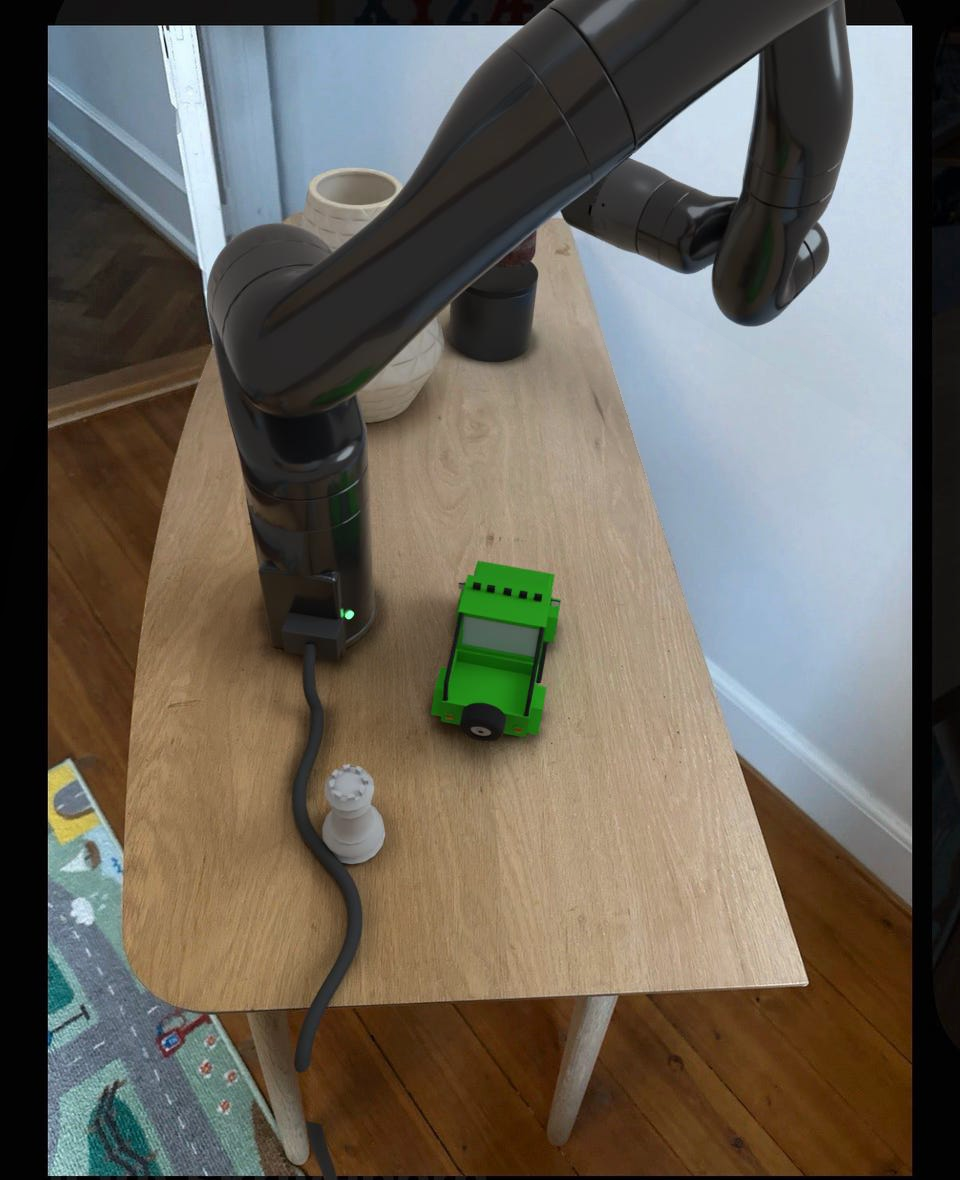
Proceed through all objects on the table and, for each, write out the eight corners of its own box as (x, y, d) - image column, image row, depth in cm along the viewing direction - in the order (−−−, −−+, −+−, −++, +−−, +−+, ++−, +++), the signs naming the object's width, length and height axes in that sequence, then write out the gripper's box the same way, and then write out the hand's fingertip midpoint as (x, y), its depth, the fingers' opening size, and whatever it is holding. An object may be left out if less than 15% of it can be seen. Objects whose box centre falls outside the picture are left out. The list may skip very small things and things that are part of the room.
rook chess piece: (386, 809, 65) (384, 751, 59) (384, 867, 62) (381, 812, 56) (325, 809, 64) (317, 751, 58) (319, 867, 61) (310, 812, 55)
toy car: (558, 611, 79) (574, 531, 71) (530, 777, 67) (546, 702, 60) (465, 594, 79) (472, 513, 72) (422, 756, 68) (425, 679, 60)
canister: (525, 367, 104) (533, 297, 98) (442, 355, 105) (444, 285, 98) (534, 323, 111) (542, 255, 104) (456, 312, 111) (459, 244, 105)
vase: (413, 457, 92) (414, 246, 75) (258, 421, 94) (226, 208, 77) (460, 368, 103) (471, 167, 86) (322, 338, 106) (306, 136, 88)
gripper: (669, 144, 84) (535, 91, 92) (582, 180, 77) (445, 120, 85) (654, 221, 90) (528, 165, 97) (571, 261, 83) (443, 197, 91)
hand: (489, 144), depth 91 cm, fingers closed
